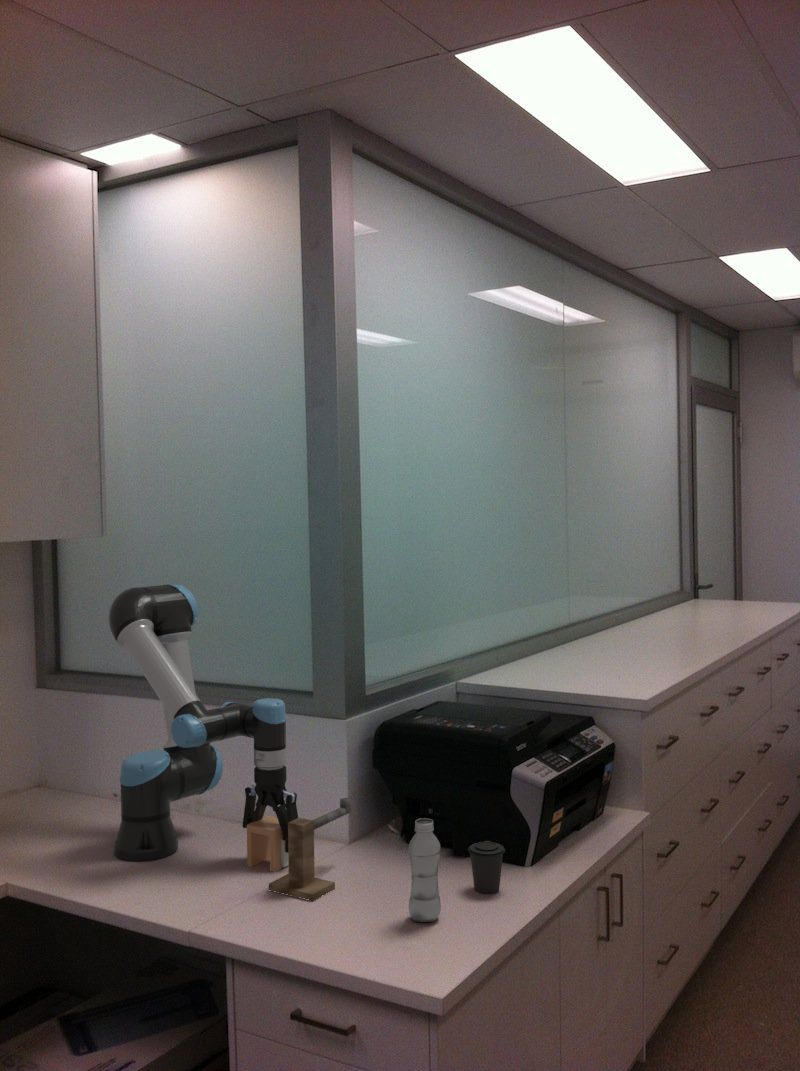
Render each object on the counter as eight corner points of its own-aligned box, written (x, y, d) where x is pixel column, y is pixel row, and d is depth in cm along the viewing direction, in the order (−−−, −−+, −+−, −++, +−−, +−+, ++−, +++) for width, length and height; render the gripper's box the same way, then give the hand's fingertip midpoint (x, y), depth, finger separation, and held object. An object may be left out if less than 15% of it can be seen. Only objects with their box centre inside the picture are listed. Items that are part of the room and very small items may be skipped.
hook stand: (268, 890, 217) (267, 820, 216) (327, 859, 236) (327, 794, 235) (313, 901, 210) (312, 829, 210) (370, 868, 229) (369, 801, 229)
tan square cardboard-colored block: (247, 865, 232) (246, 824, 232) (269, 855, 239) (268, 815, 239) (274, 871, 228) (273, 830, 228) (295, 860, 235) (295, 820, 234)
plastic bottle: (401, 919, 201) (400, 821, 200) (425, 909, 206) (424, 814, 205) (424, 929, 196) (423, 828, 196) (448, 918, 201) (447, 820, 200)
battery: (479, 848, 242) (479, 807, 242) (469, 857, 236) (469, 815, 236) (462, 846, 244) (462, 805, 244) (452, 855, 238) (452, 813, 237)
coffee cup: (495, 880, 221) (494, 836, 221) (512, 893, 214) (511, 847, 213) (462, 886, 218) (461, 841, 218) (478, 899, 211) (477, 852, 210)
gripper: (225, 763, 235) (227, 859, 236) (296, 775, 224) (297, 875, 225) (246, 756, 241) (247, 849, 242) (315, 767, 231) (317, 865, 231)
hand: (271, 861), depth 233 cm, fingers closed on tan square cardboard-colored block, 8 cm apart
